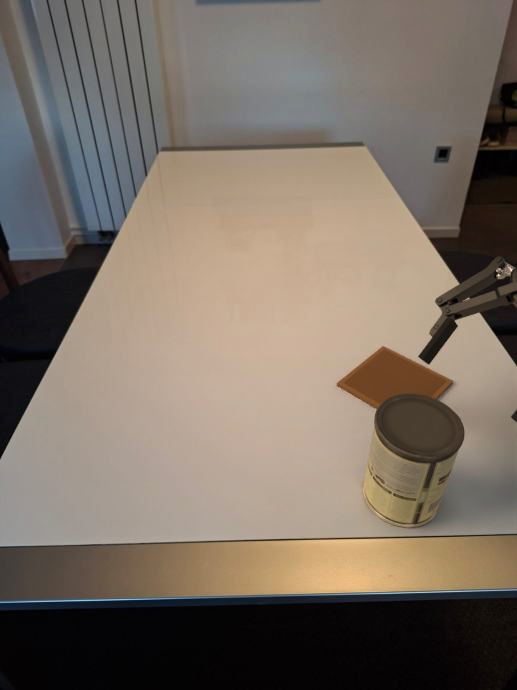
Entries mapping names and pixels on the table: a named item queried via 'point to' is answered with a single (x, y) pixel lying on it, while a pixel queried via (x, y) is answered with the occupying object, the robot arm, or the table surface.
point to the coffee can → (411, 458)
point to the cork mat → (392, 378)
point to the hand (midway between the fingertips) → (466, 389)
